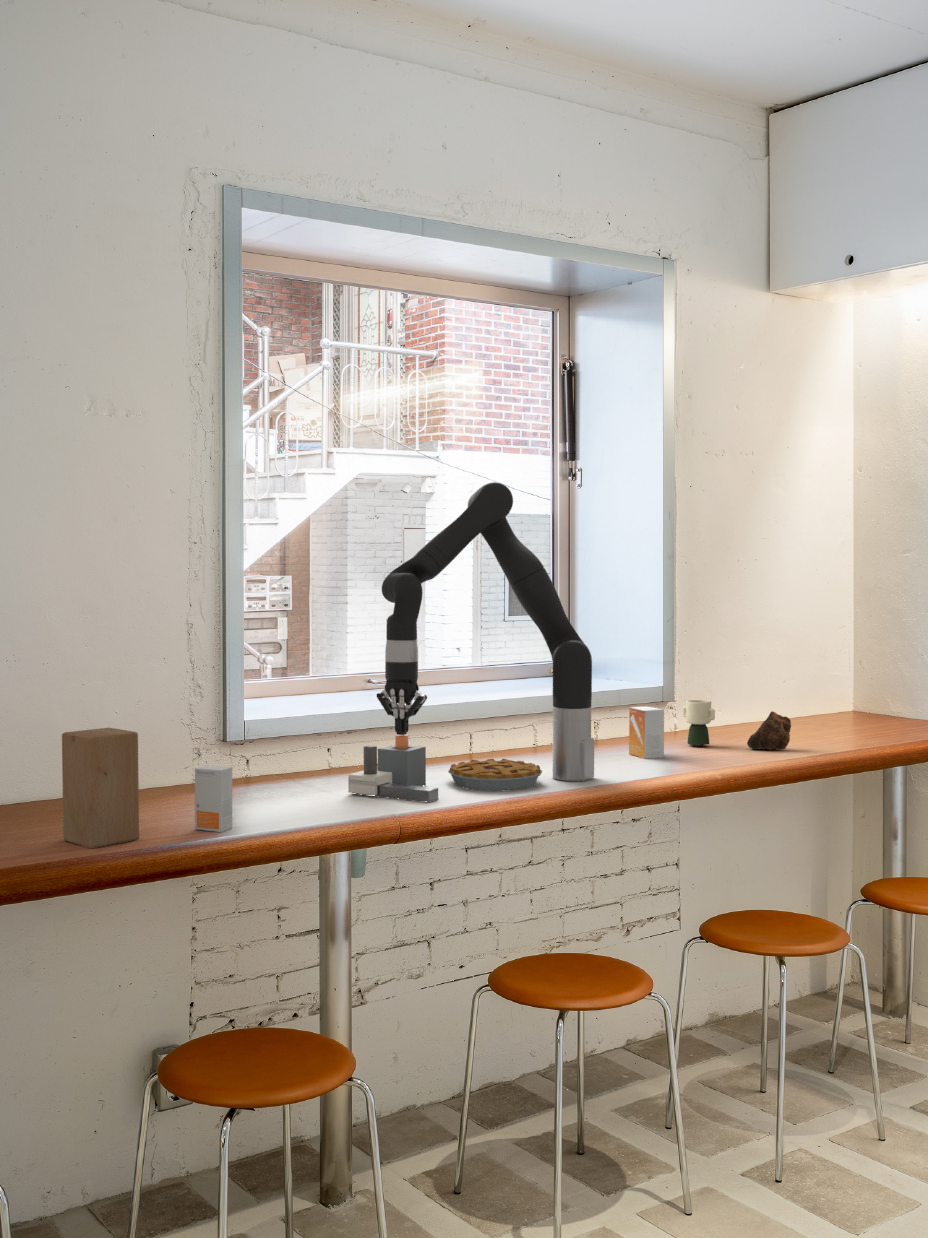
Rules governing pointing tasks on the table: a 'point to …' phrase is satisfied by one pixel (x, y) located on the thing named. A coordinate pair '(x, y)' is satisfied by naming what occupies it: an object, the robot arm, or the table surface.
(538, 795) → the table surface
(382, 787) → the rail
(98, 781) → the wooden block
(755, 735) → the decorative rock
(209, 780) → the skincare box
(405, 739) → the button
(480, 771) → the pie
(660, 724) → the small box
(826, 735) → the table surface
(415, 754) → the grey cube-like block
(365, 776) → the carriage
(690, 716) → the character mug
